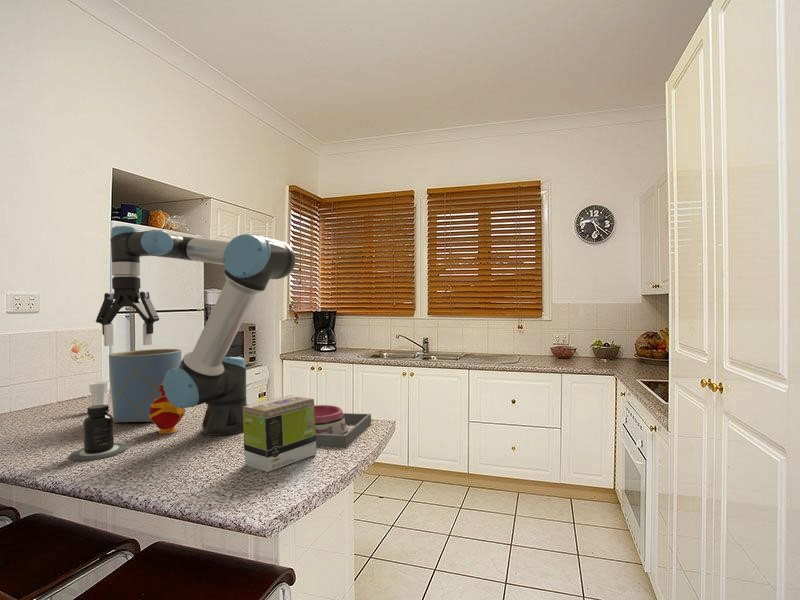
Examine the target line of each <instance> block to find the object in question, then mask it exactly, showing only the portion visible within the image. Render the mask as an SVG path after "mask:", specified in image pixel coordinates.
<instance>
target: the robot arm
mask: <svg viewBox="0 0 800 600" xmlns="http://www.w3.org/2000/svg"><path fill="white" fill-rule="evenodd" d="M109 241H110V251H111V253H110V257H111V258H110V259H111V276H112V278H111V287H112V290H113V292H105V293H104V296H103V297H104V298H103V302H102V304H101V307H100V309H99V312H98V314H97V316H96V319H95V323H96V324H98V323H99V324H101V327H102V328H101V329H102V332H101V333H102V335H103V342H104V343H103V344H104V345H103V346H104V347H108V346H114V324H113V323H112V322H113V320H114V319H115V318H116V316H117V315H118V313H119V312H120V311H121V309H123V308H124V307H125V308H127V307H131V308H133V309H134V310H135V311H136V313H137V314H138V315H139V317H140V318H141V319H142V320H143V321H144V323H143V324H142V345H143V346H149V345H153V339H152V335H153V334H154V323H155V322H158V321H160V318H159V314H158V313H157V311H156V308H155V306H154V305H153V302H152V300H151V298H150V292H149V291H140V289H141V278H140V277H139V276H140V275H141V268H140V267H141V264H140V263H141V261H140V259H141V258H140V257H159V258H160V257H161V258H168V259H179V260H183V261H194V262H201V263H208V264H215V265H222V266H224V269H225V270H224V272H223V274H224V277H225V280H226V281H225V283H224V286H223V287H222V289H221V292H220V293H219V296H218V298H217V300H216V302H215V304H214V306H213V309H211V313H210V314H209V316H208V319H207V320H206V323H205V325H204V327H203V329H202V331H201V333H200V335H199V337H198V340H197V341H196V344H195V345H194V348H193V349H192V351H189V352H187V353H185V354H184V355H183V357H182V358H181V363H180V365H179V367H178V368H177V367H175V368H173V369H171V370H169V371H168V372H167V373H166V375H165V377H164V381H163V388H164V391H165V395H166V397H167V399H168V400H169V402H170V403H171V404H172V405H174V406H175V407H178V408H184V409H188V408H194V407H196V406H200V405H203V404H206V403H207V407H206V411H205V414H204V418H203V420H202V424H201V432H202V434H204V435H208V436H225V435H234V434H238V433H244V431H243V406H247V405H248V402H247V367H246V360H245V358H244V357H242V356H227V354H228V352H229V349H231V346H232V343H233V342H234V339H235V337H236V336H237V334H238V331H239V330H240V327H241V325H242V323H243V322H244V319H245V317H246V315H247V314H248V312H249V309H250V307H251V305H252V303H253V301H254V300H255V297H256V295H257V294H258V293H263V292H264V291H265V289H266V288H267V286H268V284H269V282H270V280H280V279H284V278H286V277H288V276H289V275H290V274H291V273H292V272H293V271H294V269H295V266H296V261H297V260H296V254H295V252H294V250H293V248H292V247H291V246H290V244H288V243H287V242H285V241H283V240H280V239H275V238H270V237H265V236H262V235H259V234H253V233H252V234H247V233H245V234H240V235H236V236H235V237H233V238H232V239H231V240H230V241H226V240H225V241H223V240H218V239H217V240H216V239H208V238H199V237H198V238H197V237H191V236H184V235H176V234H172V233H171V234H170V233H168V232H167V231H166V230H164V229H149V230H144V231H140V230H139V228H137V227H135V226H131V225H130V226H129V225H116V226H113V227H112V228H111V230H110V239H109ZM139 299H140V300H139Z"/></svg>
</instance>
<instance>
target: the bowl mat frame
mask: <svg viewBox="0 0 800 600" xmlns="http://www.w3.org/2000/svg"><path fill="white" fill-rule="evenodd" d="M343 414H344V418H345V422H346V424H355V425H354V426H353V427H351V428H350V429H348V432H347V433H345V434H344V435H334V434H316V447H318V446H320V447H339V448H340V447H343V448H347V447H348V446H349V445H350V444H351V443H352V442H353V441H354V440H355V439H356V438H357V437H358V436H359V435H360V434H361V433H363V432H364V431H365V430H366V429H367V428H368V427H369V426H370V425H371V424H372V413H351V412H350V413H348V412H346V413H345V412H343Z"/></svg>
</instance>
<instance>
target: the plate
mask: <svg viewBox="0 0 800 600" xmlns="http://www.w3.org/2000/svg"><path fill="white" fill-rule="evenodd" d="M127 450H128V445H127V444H126V443H122V442H114V447H113V448H112V449H111V450H109V451H106V452H102V453H97V454H87V453H85V452H84V447H83V448H79V449H78V450H77V449H76V450H75V451H73V452H71V453H70V454H69V459H70V460H71V461H74V460H75V462H86V461H87V462H89V461H90V462H91V461H97V460H101V459H102V460H103V459H107V458H110V457H114V456H117V455H120V454H122V453H125V452H126V451H127Z"/></svg>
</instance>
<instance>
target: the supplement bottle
mask: <svg viewBox="0 0 800 600" xmlns="http://www.w3.org/2000/svg"><path fill="white" fill-rule="evenodd" d="M86 411H87V412H86V415H87V416H86V417H85V418H84V419H83V423H82V430H83V431H82V432H83V433H82V434H83V448H84V452H85V453H87V454H97V453H102V452H106V451H109V450H111V449H112V448H113V447H114V443H115V442H114V441H115V440H114V439H115V438H114V418H113V415H112V414H110V413H109V412H110V408H109V404H108V405H95V406H92V405H90V406H88V407H87V410H86Z"/></svg>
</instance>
